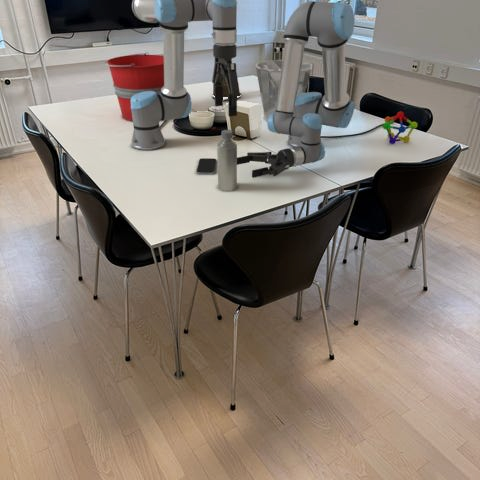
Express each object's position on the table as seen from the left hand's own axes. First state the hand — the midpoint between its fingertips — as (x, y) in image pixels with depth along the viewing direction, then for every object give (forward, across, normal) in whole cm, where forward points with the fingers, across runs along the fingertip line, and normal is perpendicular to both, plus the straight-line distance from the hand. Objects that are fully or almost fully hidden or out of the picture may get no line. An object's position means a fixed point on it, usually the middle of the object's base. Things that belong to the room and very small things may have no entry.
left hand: (225, 110), depth 153 cm
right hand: (+22, 0, +7) cm, 23 cm away
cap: (+8, 0, 0) cm, 8 cm away
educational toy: (+29, -17, +92) cm, 98 cm away
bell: (+29, -125, +47) cm, 137 cm away
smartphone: (+29, -22, -1) cm, 36 cm away
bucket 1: (+29, -105, -10) cm, 110 cm away
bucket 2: (+29, -72, +59) cm, 97 cm away
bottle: (+29, 0, 0) cm, 29 cm away
